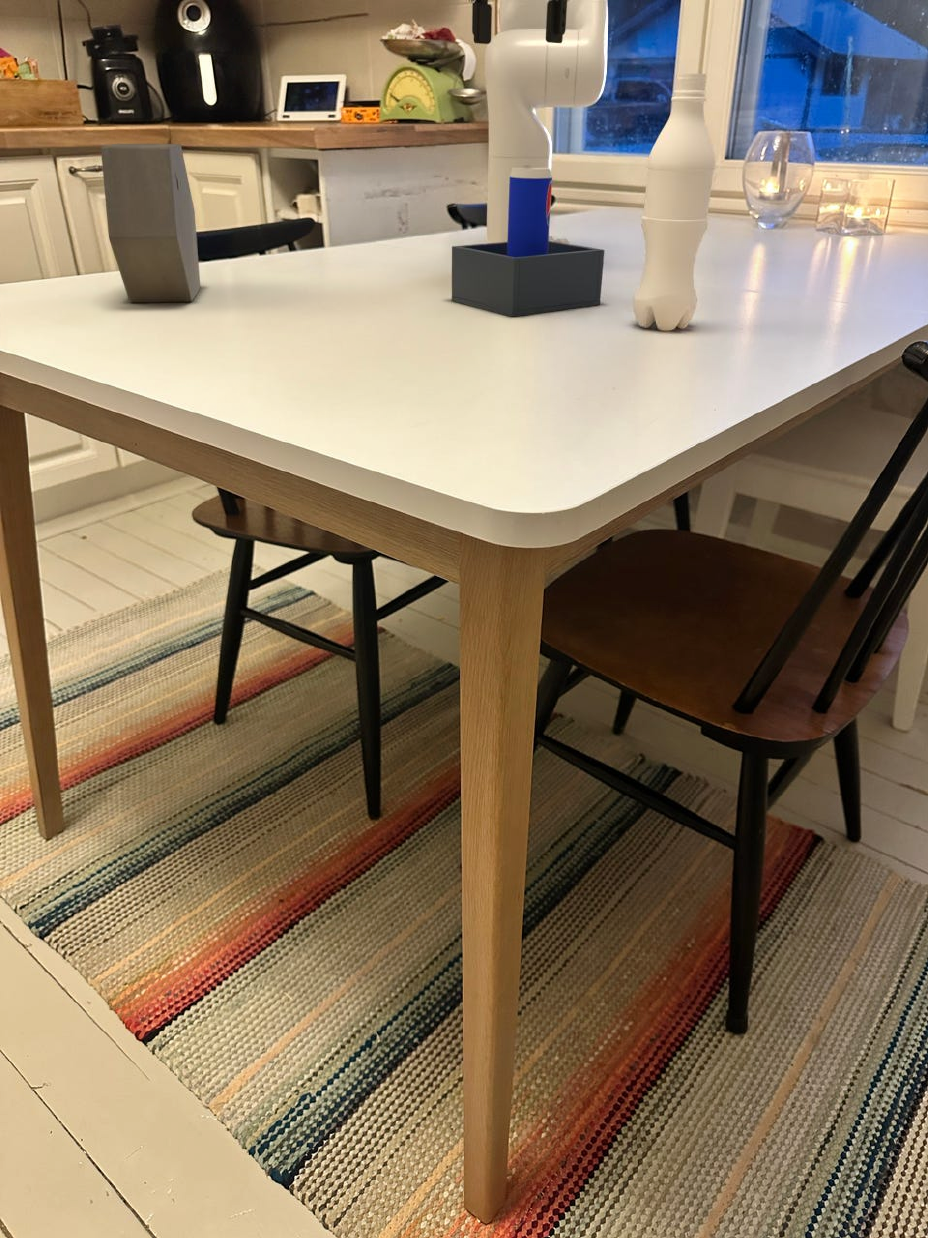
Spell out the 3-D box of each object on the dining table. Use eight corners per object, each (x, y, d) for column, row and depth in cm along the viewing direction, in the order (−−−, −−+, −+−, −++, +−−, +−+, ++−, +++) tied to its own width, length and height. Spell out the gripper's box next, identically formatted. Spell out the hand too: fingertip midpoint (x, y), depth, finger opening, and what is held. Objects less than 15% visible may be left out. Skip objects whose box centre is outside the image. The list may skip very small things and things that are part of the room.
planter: (145, 244, 124) (105, 100, 106) (201, 243, 125) (172, 101, 107) (139, 334, 116) (95, 196, 98) (199, 333, 117) (167, 196, 99)
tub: (536, 290, 123) (539, 238, 120) (600, 304, 114) (604, 249, 111) (451, 300, 115) (451, 246, 112) (512, 316, 107) (514, 258, 103)
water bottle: (687, 320, 106) (719, 75, 94) (699, 333, 100) (735, 73, 87) (626, 319, 106) (651, 74, 94) (635, 332, 100) (662, 72, 88)
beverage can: (550, 300, 113) (558, 168, 105) (511, 301, 112) (516, 168, 104) (538, 293, 117) (545, 166, 110) (501, 294, 116) (505, 166, 109)
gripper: (610, -145, 96) (596, 43, 105) (473, -131, 103) (471, 44, 112) (582, -160, 90) (570, 41, 99) (438, -143, 98) (439, 42, 107)
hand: (517, 42), depth 106 cm, fingers open, 9 cm apart
